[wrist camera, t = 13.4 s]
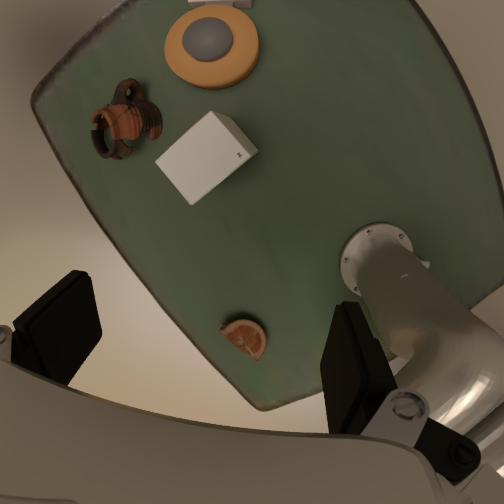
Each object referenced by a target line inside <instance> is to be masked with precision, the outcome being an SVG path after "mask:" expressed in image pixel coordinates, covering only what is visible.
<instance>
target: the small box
mask: <svg viewBox="0 0 504 504" xmlns="http://www.w3.org/2000/svg"><path fill="white" fill-rule="evenodd" d="M257 152H258V149H257V148H256V147H255V146H254V145H253V143H252V142H251V141H250V140H249V139H248V137H247V136H246V135H245V134H244V133H243V132H242V130H241V129H240V128H239V127H238V126H237V124H236V123H235V122H234V121H233V120H232V119H231V118H230V117H227V116H225V115H222V114H219V113H216V112H213V111H209V112H208V113H207V114H206V115H205V116H203V117H202V118H201V119H200V120H199V121H198V122H196V123H195V124H194V125H193V126H192V127H191V128H190V129H189V130H187V131H186V132H185V133H184V134H183V135H182V136H181V137H180V138H179V139H178V140H177V141H175V142H174V143H173V144H172V145H171V146H170V147H169V148H168V149H167V150H166V151H165V152H164V153H163V154H162V155H161V156H160V157H159V158H158V159H157V160H156V161H155V163H156V164H157V165H158V166H159V167H160V169H161V170H162V171H163V172H164V173H165V175H166V176H167V177H168V178H169V180H170V181H171V182H172V183H173V184H174V186H175V187H176V188H177V189H178V190H179V192H180V193H181V194H182V195H183V196H184V198H185V199H186V200H187V201H188V202H189V204H190V205H193V204H195V203H196V202H197V201H198V200H200V199H201V198H202V197H203V196H205V195H206V194H207V193H208V192H209V191H211V190H212V189H213V188H214V187H216V186H217V185H218V184H219V183H221V182H222V181H223V180H224V179H225V178H227V177H228V176H229V175H230V174H232V173H233V172H234V171H235V170H236V169H238V168H239V167H240V166H241V165H243V164H244V163H245V162H246V161H247V160H249V159H250V158H251V157H252V156H253V155H255V154H256V153H257Z"/></svg>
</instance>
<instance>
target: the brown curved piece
mask: <svg viewBox="0 0 504 504" xmlns="http://www.w3.org/2000/svg"><path fill="white" fill-rule="evenodd" d="M128 88H129V89H130V90H131V94H130V95H129V96H127V95H126V92H127V89H128ZM111 104H112V105H109V104H107V105H105V106H104V107H103V108H102V109H98V110H96V111H95V113H94V114H93V116H92V120H91V122H92V123H96V130H91V138H92V142H93V145H94V147H95V149H96V151H97V153H98V154H99V155H100V156H101V157H102V158H106V159H107V158H109V157H111V158H114V159H117V160H122V159H123V158H122V157H119V156H124V155H128V154H130V153H131V152H132V151H133V148H132V147H128V146H127V145H126V144H125V143H124V142H123V140H122V139H128V140H135V139H137V138H138V137H139V136H140V134H141V132H144V131H146V130H148V129H149V128H150V134H149V140H153V139H155V138H157V137H159V136H160V134H161V116H160V113H159V110H158V108H157V107H156V106H155V105H154V104H153V103H150V102H147V101H144V98H143V95H142V88H141V86H140V84H139V83H138V82H137V81H136V80H135V79H132V78H128V79H127V80H123V81H121V82H120V83H119V84H118V86H117V87H116V90H115V94H114V98H113V100H112V101H111ZM128 104H129V105H133V107H132V108H130V109H129V106H128ZM102 115H103V116H104V117H103V118H101V116H102ZM107 126H110V130H111V139H112V141H111V147H110V150H109V149H108V147H107V146H106V144H105V141H104V129H105V128H106V127H107Z"/></svg>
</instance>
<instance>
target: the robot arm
mask: <svg viewBox="0 0 504 504" xmlns="http://www.w3.org/2000/svg"><path fill="white" fill-rule="evenodd" d="M367 230H369V231H368V232H367ZM399 235H400V236H399ZM346 257H347V258H346ZM344 258H346V259H344ZM429 265H430V263H429V261H428V260H419V258H418V257H417V256H416V255H415V254H414V251H413V247H412V243H411V241H410V239H409V238H408V236H407V235H406V234H405V233H404V232H403V231H402V230H401V229H399V228H398V227H396V226H394V225H392V224H389V223H373V224H369V225H367V226H365V227H362V228H361V229H359V230H358V231H356V232H355V233H354V234H353V235H352V236H351V237H350V238H349V239H348V241H347V242H346V244H345V245H344V248H343V250H342V252H341V256H340V273H341V276H342V278H343V281H344V283H345V284H346V286H347V287H348V288H349V289H350V290H351V291H352V292H353V293H355V294H357V295H359V296H362V297H363V299H364V301H365V303H366V305H367V307H368V310H369V312H370V314H371V316H372V318H373V320H374V322H375V324H376V327H377V329H378V331H379V333H380V335H381V337H382V339H383V341H384V343H385V345H386V346H387V347H388V349H389V350H390V351H392V352H393V353H394V354H396V355H397V356H399V357H402V358H404V359H407V360H409V361H408V363H407V364H406V365H405V366H404V367H403V368H402V369H401V370H400V371H399V372H398V373H397V374H396V375H395V376H393V374H392V371H391V369H390V366H389V364H388V361H387V359H386V356H385V354H384V352H383V349H382V347H381V344H380V342H379V340H378V339H376V338H374V337H373V335H372V332H371V330H370V328H369V325H368V323H367V321H366V318H365V316H364V314H363V311H362V309H361V307H360V305H359V303H358V302H348V301H343V302H342V303H341V305H336V307H335V311H334V315H333V319H332V323H331V327H330V330H329V334H328V338H327V341H326V345H325V349H324V352H323V355H322V359H321V363H320V372H321V378H322V385H323V392H324V399H325V406H326V413H327V421H328V428H329V434H328V433H326V434H325V433H301V432H283V431H270V430H258V429H248V428H239V427H230V426H223V425H216V424H210V423H203V422H198V421H192V420H187V419H181V418H176V417H172V416H167V415H162V414H158V413H154V412H149V411H145V410H141V409H138V408H134V407H130V406H126V405H123V404H119V403H116V402H113V401H109V400H106V399H103V398H100V397H97V396H94V395H91V394H88V393H85V392H82V391H79V390H76V389H73V388H71V387H68V386H67V385H68V384H69V383H70V381H71V380H72V378H73V377H74V375H75V374H76V373H77V371H78V370H79V368H80V366H81V365H82V364H83V362H84V361H85V360H86V358H87V357H88V356H89V354H90V353H91V352H92V350H93V349H94V347H95V346H96V345H97V343H98V342H99V341H100V339H101V337H102V328H101V324H100V320H99V315H98V311H97V306H96V302H95V296H94V291H93V285H92V280H91V277H90V276H88V273H87V272H85V271H79V270H73V271H71V272H70V273H69V274H67V275H66V276H65V277H64V278H63V279H61V280H60V281H59V282H58V283H57V284H55V285H54V286H53V287H52V288H51V289H49V290H48V291H47V292H46V293H45V294H43V295H42V296H41V297H40V298H39V299H38V300H37V301H35V302H34V303H33V304H32V305H31V306H30V307H29V308H27V309H26V310H25V311H24V312H23V313H22V314H21V315H20V316H19V317H17V318H16V319H15V320H14V321H13V325H14V327H15V331H14V332H12V330H11V328H10V327H9V326H7V325H0V504H504V402H503V403H501V404H500V405H499V406H498V407H496V408H495V409H494V410H493V411H492V412H491V413H489V412H490V411H491V410H492V409H493V408H494V407H495V406H496V405H497V403H498V402H499V401H500V400H501V399H502V397H503V396H504V339H503V338H502V337H501V336H500V335H499V334H498V333H497V332H496V331H495V330H494V329H492V328H491V327H490V326H489V325H487V324H486V323H485V322H483V321H482V320H481V319H479V318H478V317H477V316H475V315H474V314H473V313H472V312H471V311H469V310H468V309H467V308H466V307H465V306H464V305H463V304H462V303H461V302H459V301H458V300H457V299H456V298H455V297H454V296H453V295H452V294H451V293H450V292H449V290H448V289H447V288H446V287H445V286H444V285H443V284H442V283H441V282H440V281H439V280H438V279H437V278H436V277H435V276H434V275H433V274H432V273H431V272H430V271H429V270H428V268H429ZM488 413H489V414H488ZM487 414H488V415H487ZM486 415H487V416H486ZM485 416H486V417H485ZM484 417H485V418H484ZM483 418H484V419H483ZM478 422H479V423H478ZM477 423H478V424H477ZM472 427H473V428H472ZM471 428H472V429H471ZM466 432H467V433H466Z"/></svg>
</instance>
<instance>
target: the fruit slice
mask: <svg viewBox="0 0 504 504" xmlns="http://www.w3.org/2000/svg"><path fill="white" fill-rule="evenodd" d="M219 331H220V332H221V333H222V334H223V335H224V336H225V337H226V338H227V339H228V340H229V341H230V342H231V343H232V344H233V345H234V346H236V347H237V348H238V349H239V350H241V351H242V352H244V353H245V354H246V355H248V356H249V357H251V358H253V359H254V360H257V361H258V360H259V359H260V357H261V356H262V355H263V353H264V351H265V349H266V344H267V341H266V335H265V333H264V331H263V329H262V328H261V327H260V326H259V325H258V324H257V323H255V322H253V321H251V320H247V319H239V320H235V321H232V322H229V323H227V324H225V325H224V324H223V326H222V327H221V328H220V330H219Z"/></svg>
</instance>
